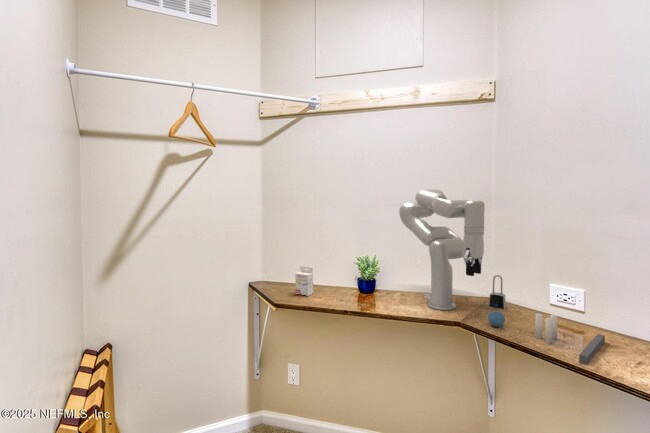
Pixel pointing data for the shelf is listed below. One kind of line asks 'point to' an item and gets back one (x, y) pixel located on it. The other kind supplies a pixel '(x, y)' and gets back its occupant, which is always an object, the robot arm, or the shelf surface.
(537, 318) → the front pin
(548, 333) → the pin
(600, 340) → the grey long square bar
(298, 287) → the ink cartridge box
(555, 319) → the pin
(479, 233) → the robot arm
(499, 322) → the ball
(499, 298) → the padlock
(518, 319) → the shelf surface
